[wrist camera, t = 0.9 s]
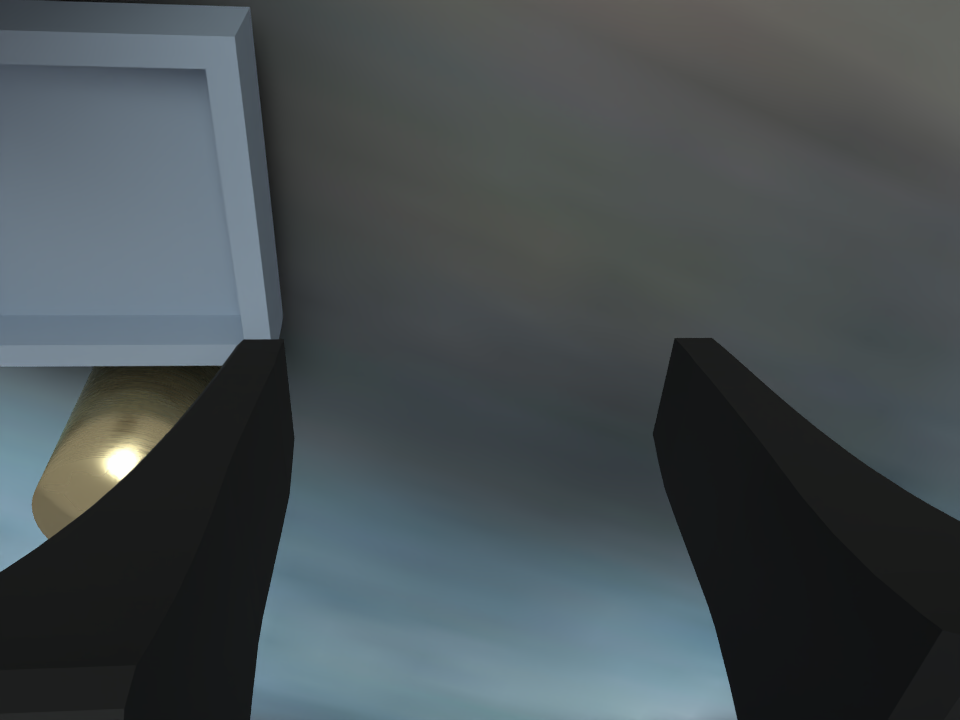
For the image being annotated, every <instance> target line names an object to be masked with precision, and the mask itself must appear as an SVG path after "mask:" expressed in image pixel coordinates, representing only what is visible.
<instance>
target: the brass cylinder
mask: <svg viewBox="0 0 960 720" xmlns="http://www.w3.org/2000/svg"><path fill="white" fill-rule="evenodd" d="M221 367H222V366H94V367H93V369H92V372H91V374H90V376H89V378H88V380H87V382H86V384H85V386H84V388H83V390H82V393H81V395H80V397H79V399H78V401H77V403H76V405H75V407H74V409H73V412H72V414H71V416H70V418H69V420H68V422H67V424H66V426H65V428H64V431H63V433H62V435H61V437H60V439H59V441H58V443H57V445H56V447H55V450H54V452H53V454H52V456H51V458H50V460H49V462H48V464H47V466H46V469H45V471H44V473H43V475H42V477H41V479H40V481H39V483H38V485H37V488H36V490H35V492H34V495H33V499H32V512H33V515H34V519H35V521H36V523H37V525H38V527H39V528H40V530H41V531H42V533H43V534H44V535H45V536H46V537H47V538H48V539H50V538H51V537H52V536H54V535H55V534H56V533H58V532H59V531H60V530H62V529H63V528H64V527H65V526H67V525H68V524H69V523H71V522H72V521H73V520H75V519H76V518H77V517H79V516H80V515H81V514H83V513H84V512H85V511H86V510H88V509H89V508H90V507H91V506H92V505H94V504H95V503H96V502H97V501H98V500H99V499H101V498H102V497H103V496H104V495H105V494H106V493H107V492H108V491H110V490H111V489H112V488H113V487H114V486H115V485H116V484H117V483H118V482H120V481H121V480H122V479H123V478H124V477H125V476H126V475H127V474H128V473H129V472H130V471H131V470H132V469H133V468H134V467H135V466H136V465H137V464H138V463H139V462H140V461H141V460H142V459H143V458H144V457H145V456H146V455H147V454H148V453H149V452H150V451H151V450H152V449H153V448H154V447H155V445H156V444H157V443H158V442H159V441H160V440H161V439H162V438H163V437H164V436H165V435H166V434H167V433H168V432H169V431H170V430H171V428H172V427H173V426H174V425H175V424H176V423H177V422H178V420H179V419H180V418H181V417H182V416H183V414H184V413H185V412H186V411H187V410H188V408H189V407H190V406H191V405H192V404H193V402H194V401H195V400H196V399H197V398H198V396H199V395H200V394H201V393H202V392H203V390H204V389H205V388H206V386H207V385H208V384H209V383H210V381H211V380H212V379H213V377H214V376H215V375H216V373H217V372H218V371H219V369H220V368H221Z"/></svg>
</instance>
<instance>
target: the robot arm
mask: <svg viewBox="0 0 960 720" xmlns="http://www.w3.org/2000/svg"><path fill="white" fill-rule="evenodd" d="M653 437H654V442H655V447H656V452H657V457H658V461H659V466H660V470H661V475H662V479H663V483H664V487H665V490H666V493H667V496H668V499H669V502H670V504H671V507H672V510H673V513H674V515H675V518H676V521H677V524H678V526H679V529H680V532H681V534H682V537H683V540H684V542H685V545H686V548H687V550H688V553H689V556H690V558H691V561H692V564H693V566H694V569H695V572H696V574H697V577H698V580H699V582H700V585H701V588H702V590H703V593H704V596H705V598H706V601H707V604H708V607H709V610H710V613H711V616H712V619H713V622H714V626H715V629H716V633H717V637H718V640H719V644H720V648H721V652H722V656H723V660H724V664H725V668H726V672H727V676H728V680H729V684H730V688H731V693H732V697H733V701H734V706H735V710H736V715H737V719H738V720H960V521H958V520H956V519H955V518H953V517H951V516H949V515H947V514H946V513H944V512H942V511H940V510H938V509H936V508H935V507H933V506H931V505H929V504H927V503H926V502H924V501H922V500H921V499H919V498H917V497H916V496H914V495H912V494H911V493H909V492H907V491H906V490H904V489H903V488H901V487H899V486H898V485H896V484H895V483H893V482H892V481H890V480H889V479H887V478H886V477H884V476H883V475H881V474H879V473H878V472H876V471H875V470H873V469H872V468H870V467H869V466H867V465H866V464H864V463H863V462H862V461H860V460H859V459H857V458H856V457H854V456H853V455H852V454H850V453H849V452H848V451H846V450H845V449H844V448H842V447H841V446H840V445H838V444H837V443H836V442H834V441H833V440H832V439H830V438H829V437H828V436H826V435H825V434H824V433H823V432H821V431H820V430H819V429H817V428H816V427H815V426H814V425H812V424H811V423H810V422H809V421H807V420H806V419H805V418H804V417H803V416H801V415H800V414H799V413H798V412H797V411H795V410H794V409H793V408H792V407H791V406H789V405H788V404H787V403H786V402H785V401H784V400H782V399H781V398H780V397H779V396H778V395H777V394H775V393H774V392H773V391H772V390H771V389H770V388H769V387H767V386H766V385H765V384H764V383H763V382H762V381H761V380H760V379H758V378H757V377H756V376H755V375H754V374H753V373H752V372H751V371H749V370H748V369H747V368H746V367H745V366H744V365H743V364H742V363H740V362H739V361H738V360H737V359H736V358H735V357H734V356H733V355H731V354H730V353H729V352H728V351H727V350H726V349H724V348H723V347H722V346H721V345H720V344H719V343H717V342H716V341H715V340H714V339H712V338H675V340H674V344H673V348H672V353H671V357H670V361H669V366H668V370H667V375H666V379H665V383H664V388H663V392H662V396H661V401H660V405H659V410H658V414H657V418H656V423H655V427H654V431H653ZM293 449H294V431H293V422H292V412H291V403H290V394H289V385H288V376H287V366H286V357H285V348H284V339H243V340H242V341H241V342H240V343H239V344H238V345H237V346H236V347H235V349H234V350H233V352H232V353H231V354H230V356H229V357H228V358H227V360H226V361H225V363H224V364H223V365H222V367H221V368H220V369H219V371H218V372H217V373H216V375H215V376H214V377H213V379H212V380H211V381H210V383H209V384H208V385H207V386H206V388H205V389H204V390H203V392H202V393H201V394H200V395H199V396H198V398H197V399H196V400H195V401H194V402H193V404H192V405H191V406H190V407H189V408H188V410H187V411H186V412H185V413H184V414H183V416H182V417H181V418H180V419H179V420H178V422H177V423H176V424H175V425H174V426H173V427H172V428H171V430H170V431H169V432H168V433H167V434H166V435H165V436H164V437H163V438H162V439H161V440H160V441H159V442H158V443H157V444H156V445H155V447H154V448H153V449H152V450H151V451H150V452H149V453H148V454H147V455H146V456H145V457H144V458H143V459H142V460H141V461H140V462H139V463H138V464H137V465H136V466H135V467H134V468H133V469H132V470H131V471H130V472H129V473H128V474H127V475H126V476H125V477H124V478H123V479H122V480H121V481H120V482H118V483H117V484H116V485H115V486H114V487H113V488H112V489H111V490H110V491H108V492H107V493H106V494H105V495H104V496H103V497H102V498H101V499H99V500H98V501H97V502H96V503H95V504H94V505H92V506H91V507H90V508H89V509H88V510H86V511H85V512H84V513H83V514H81V515H80V516H79V517H77V518H76V519H75V520H73V521H72V522H71V523H69V524H68V525H67V526H65V527H64V528H63V529H62V530H60V531H59V532H58V533H56V534H55V535H54V536H52V537H51V538H50V539H48V540H47V541H46V542H44V543H43V544H42V545H40V546H39V547H37V548H36V549H35V550H33V551H32V552H30V553H29V554H27V555H26V556H24V557H23V558H21V559H20V560H18V561H17V562H15V563H14V564H12V565H11V566H9V567H8V568H6V569H5V570H3V571H1V572H0V720H250V715H251V705H252V696H253V687H254V678H255V669H256V660H257V651H258V642H259V637H260V631H261V625H262V619H263V614H264V610H265V605H266V600H267V596H268V591H269V587H270V582H271V578H272V573H273V569H274V564H275V559H276V555H277V550H278V546H279V541H280V537H281V532H282V527H283V523H284V518H285V513H286V509H287V504H288V499H289V494H290V483H291V473H292V461H293Z"/></svg>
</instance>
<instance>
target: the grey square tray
mask: <svg viewBox="0 0 960 720" xmlns="http://www.w3.org/2000/svg"><path fill="white" fill-rule="evenodd" d="M282 321H283V311H282V302H281V292H280V283H279V273H278V264H277V255H276V245H275V236H274V227H273V217H272V208H271V198H270V189H269V180H268V170H267V161H266V152H265V142H264V133H263V124H262V114H261V105H260V95H259V86H258V77H257V67H256V58H255V49H254V39H253V30H252V20H251V11H250V7H234V6H202V5H170V4H138V3H106V2H74V1H42V0H0V367H38V366H222V365H223V364H224V363H225V361H226V360H227V358H228V357H229V356H230V354H231V353H232V352H233V350H234V349H235V347H236V346H237V345H238V344H239V343H240V342H241V341H242V340H243V339H279V336H280V331H281V326H282Z"/></svg>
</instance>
